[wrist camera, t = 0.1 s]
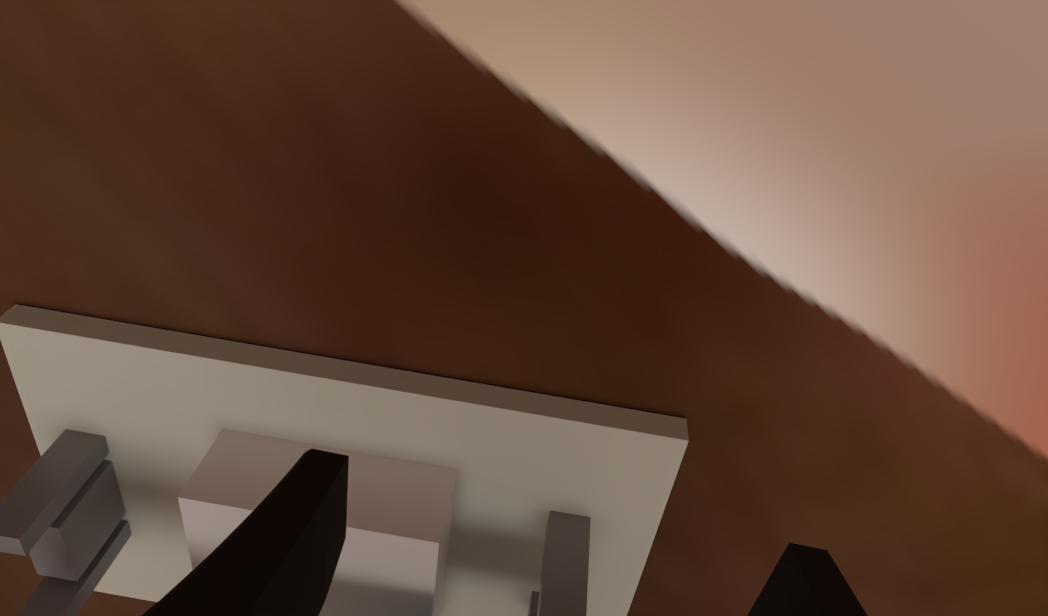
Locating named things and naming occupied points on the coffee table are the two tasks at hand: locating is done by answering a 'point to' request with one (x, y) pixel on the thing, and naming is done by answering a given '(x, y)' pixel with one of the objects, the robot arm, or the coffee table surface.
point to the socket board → (353, 415)
